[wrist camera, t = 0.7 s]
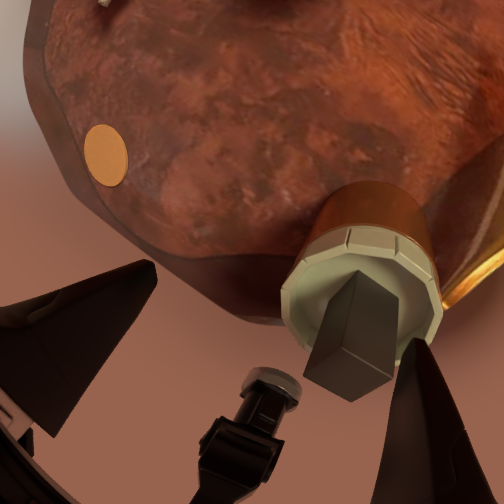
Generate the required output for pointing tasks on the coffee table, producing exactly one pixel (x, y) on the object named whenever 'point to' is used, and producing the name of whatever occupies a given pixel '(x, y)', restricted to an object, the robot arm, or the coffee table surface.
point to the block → (356, 340)
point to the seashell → (104, 2)
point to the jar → (366, 261)
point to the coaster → (106, 155)
